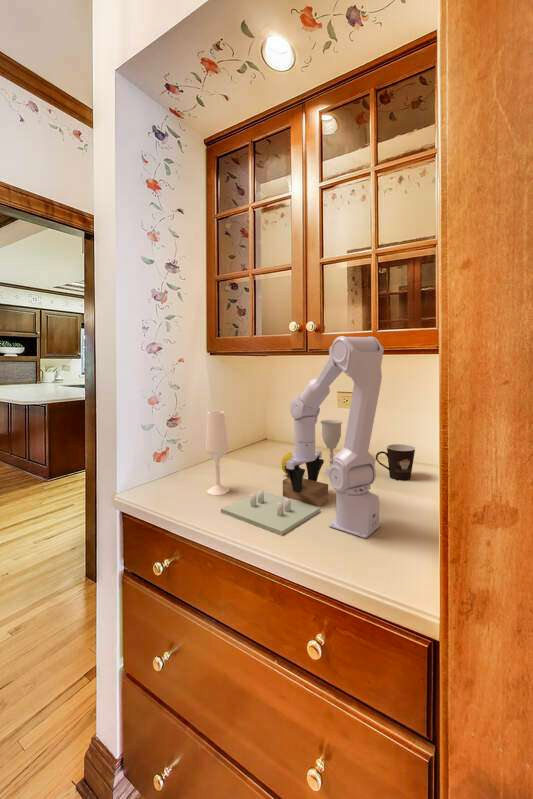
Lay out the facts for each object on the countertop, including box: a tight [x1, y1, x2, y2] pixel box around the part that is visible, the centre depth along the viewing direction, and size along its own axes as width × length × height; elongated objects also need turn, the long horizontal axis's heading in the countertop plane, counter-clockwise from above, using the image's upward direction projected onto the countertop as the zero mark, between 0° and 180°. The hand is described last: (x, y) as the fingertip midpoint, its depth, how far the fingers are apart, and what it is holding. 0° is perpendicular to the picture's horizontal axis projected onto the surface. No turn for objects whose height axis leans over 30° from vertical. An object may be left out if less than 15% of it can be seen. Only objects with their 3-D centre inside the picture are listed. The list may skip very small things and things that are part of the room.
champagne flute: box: [205, 410, 230, 496], centre depth 109 cm, size 7×7×24 cm
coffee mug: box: [375, 443, 416, 482], centre depth 120 cm, size 12×9×10 cm
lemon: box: [281, 452, 293, 475], centre depth 123 cm, size 6×6×8 cm
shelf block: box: [282, 477, 329, 507], centre depth 104 cm, size 12×5×5 cm, turn 50°
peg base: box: [220, 490, 321, 536], centre depth 95 cm, size 20×16×4 cm
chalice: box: [320, 419, 343, 477], centre depth 123 cm, size 7×7×18 cm
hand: (304, 487), depth 103 cm, fingers open, 7 cm apart
